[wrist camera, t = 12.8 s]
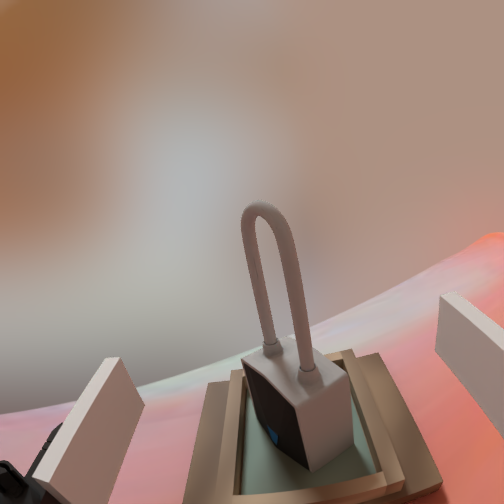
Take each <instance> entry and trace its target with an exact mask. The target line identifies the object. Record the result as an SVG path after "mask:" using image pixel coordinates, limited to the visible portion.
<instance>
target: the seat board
mask: <svg viewBox="0 0 504 504" xmlns="http://www.w3.org/2000/svg"><path fill="white" fill-rule="evenodd" d="M324 356H325V357H326V358H328V359H329V360H330V361H332V362H333V363H334V364H336V365H337V366H338V367H340V368H341V369H343V370H344V371H345V372H346V373H347V374H348V376H349V385H350V395H351V407H352V419H353V434H354V444H353V445H351V446H350V447H349V448H347V449H346V450H345V451H343V452H342V453H341V454H339V455H338V456H337V457H335V458H334V459H332V460H331V461H330V462H328V463H327V464H325V465H324V466H323V467H321V468H320V469H318V470H317V471H315V472H314V473H312V472H310V471H309V470H307V469H306V468H304V467H303V466H301V465H300V464H299V463H297V462H296V461H294V460H293V459H291V458H290V457H289V456H287V455H286V454H285V453H283V452H282V451H280V450H279V449H278V448H276V447H275V445H274V444H273V442H272V441H271V439H270V438H269V436H268V435H267V433H266V431H265V430H264V428H263V427H262V425H261V424H260V422H259V420H258V419H257V417H256V415H255V411H254V408H253V404H252V400H251V396H250V393H249V389H248V385H247V381H246V377H245V374H244V370H243V369H239V370H231V376H230V381H222V382H212V383H208V386H207V391H206V395H205V400H204V404H203V409H202V414H201V418H200V423H199V427H198V432H197V437H196V441H195V446H194V451H193V455H192V460H191V465H190V469H189V474H188V479H187V484H186V489H185V493H184V498H183V503H182V504H403V503H406V502H409V501H411V500H414V499H417V498H419V497H422V496H424V495H427V494H429V493H432V492H434V491H436V490H438V489H439V488H440V486H441V484H442V482H443V480H442V478H441V475H440V473H439V471H438V469H437V467H436V464H435V462H434V460H433V458H432V456H431V454H430V452H429V449H428V447H427V445H426V443H425V441H424V439H423V437H422V435H421V433H420V431H419V429H418V427H417V425H416V423H415V421H414V419H413V417H412V415H411V413H410V411H409V409H408V407H407V405H406V403H405V401H404V399H403V397H402V396H401V394H400V392H399V390H398V388H397V386H396V384H395V382H394V380H393V379H392V377H391V375H390V373H389V371H388V369H387V368H386V366H385V364H384V362H383V360H382V359H381V357H380V355H379V353H374V354H370V355H366V356H362V357H358V358H356V357H355V355H354V353H353V350H352V349H349V350H344V351H340V352H336V353H331V354H326V355H324Z"/></svg>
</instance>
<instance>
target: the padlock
mask: <svg viewBox="0 0 504 504" xmlns="http://www.w3.org/2000/svg"><path fill="white" fill-rule="evenodd" d="M257 216H261V217H262V218H264V219H265V220H266V221H267V223H268V224H269V225H270V227H271V228H272V230H273V233H274V235H275V238H276V241H277V245H278V249H279V253H280V257H281V262H282V266H283V271H284V276H285V281H286V286H287V292H288V297H289V302H290V308H291V313H292V319H293V325H294V331H295V336H296V340H295V339H292V338H290V337H288V336H285V337H283V338H281V339H280V340H279V339H278V338H276V335H275V330H274V325H273V320H272V315H271V311H270V305H269V300H268V296H267V291H266V286H265V281H264V276H263V271H262V266H261V261H260V256H259V251H258V245H257V239H256V233H255V220H256V218H257ZM241 232H242V238H243V244H244V249H245V254H246V259H247V264H248V269H249V273H250V278H251V282H252V287H253V291H254V296H255V301H256V305H257V310H258V314H259V319H260V323H261V327H262V332H263V336H264V341H263V348H262V349H260V350H258V351H256V352H254V353H252V354H250V355H247V356H245V357H243V358H241V362H242V366H243V370H244V374H245V377H246V381H247V385H248V389H249V393H250V396H251V400H252V404H253V408H254V411H255V415H256V417H257V419H258V420H259V422H260V424H261V425H262V427H263V428H264V430H265V431H266V433H267V435H268V436H269V438H270V439H271V441H272V442H273V444H274V445H275V447H276V448H278V449H279V450H280V451H282V452H283V453H285V454H286V455H287V456H289V457H290V458H291V459H293V460H294V461H296V462H297V463H299V464H300V465H301V466H303V467H304V468H306V469H307V470H309V471H310V472H312V473H314V472H315V471H317V470H318V469H320V468H321V467H323V466H324V465H325V464H327V463H328V462H330V461H331V460H332V459H334V458H335V457H337V456H338V455H339V454H341V453H342V452H343V451H345V450H346V449H347V448H349V447H350V446H351V445H353V444H354V434H353V419H352V407H351V395H350V385H349V376H348V374H347V373H346V372H345V371H344V370H343V369H341V368H340V367H338V366H337V365H336V364H334V363H333V362H332V361H330V360H329V359H328V358H326V357H325V356H324V355H322V354H321V353H320V352H319V351H317V350H316V349H314V348H313V347H312V343H311V336H310V329H309V322H308V317H307V309H306V303H305V297H304V291H303V285H302V279H301V273H300V268H299V263H298V258H297V253H296V248H295V244H294V240H293V237H292V233H291V230H290V228H289V225H288V223H287V221H286V219H285V218H284V216H283V215H282V214H281V212H280V211H279V210H278V209H277V208H276V207H275V206H273V205H272V204H270V203H268V202H266V201H262V200H257V201H253V202H251V203H249V204H248V205H247V206H246V208H245V209H244V211H243V214H242V218H241Z"/></svg>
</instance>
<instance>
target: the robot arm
mask: <svg viewBox="0 0 504 504" xmlns="http://www.w3.org/2000/svg"><path fill="white" fill-rule="evenodd" d="M435 351H436V353H437V354H438V355H439V356H440V357H441V359H442V360H443V361H444V362H445V363H446V365H447V366H448V367H449V368H450V369H451V371H452V372H453V373H454V374H455V376H456V377H457V378H458V379H459V381H460V382H461V383H462V384H463V386H464V387H465V388H466V389H467V391H468V392H469V393H470V394H471V396H472V397H473V398H474V400H475V401H476V402H477V403H478V405H479V406H480V407H481V409H482V410H483V411H484V413H485V414H486V415H487V417H488V418H489V419H490V421H491V422H492V423H493V425H494V426H495V428H496V429H497V430H498V432H499V433H500V434H501V436H502V437H503V439H504V329H502V328H501V327H500V326H499V325H498V324H496V323H495V322H494V321H493V320H491V319H490V318H489V317H488V316H486V315H485V314H484V313H482V312H481V311H480V310H479V309H477V308H476V307H475V306H473V305H472V304H471V303H470V302H468V301H467V300H466V299H464V298H463V297H462V296H460V295H459V294H458V293H456V292H455V291H453V292H450V293H447V294H444V295H440V302H439V316H438V327H437V336H436V345H435ZM144 406H145V404H144V403H143V401H142V399H141V397H140V395H139V393H138V392H137V390H136V388H135V386H134V384H133V382H132V380H131V378H130V376H129V374H128V372H127V370H126V368H125V366H124V364H123V362H122V360H121V358H120V357H116V358H106V359H105V360H104V361H103V363H102V364H101V366H100V367H99V369H98V370H97V372H96V373H95V375H94V376H93V378H92V379H91V381H90V382H89V384H88V385H87V387H86V388H85V390H84V391H83V393H82V394H81V396H80V398H79V399H78V401H77V402H76V404H75V405H74V407H73V408H72V410H71V412H70V413H69V415H68V416H67V418H66V420H65V421H64V423H61V424H59V425H58V426H57V427H56V428H55V429H54V430H53V431H52V432H51V434H50V435H49V437H48V439H47V442H45V444H44V445H43V447H42V450H40V452H39V454H38V455H37V457H36V459H35V460H34V462H33V464H32V465H31V467H30V469H29V471H28V472H27V474H26V476H25V477H23V476H22V475H21V474H20V473H19V472H18V471H17V470H16V469H15V468H14V467H13V465H12V464H11V463H9V462H8V461H5V460H2V461H0V504H108V501H109V498H110V495H111V493H112V490H113V487H114V484H115V482H116V479H117V476H118V473H119V471H120V468H121V465H122V463H123V460H124V457H125V455H126V452H127V449H128V447H129V444H130V442H131V439H132V436H133V434H134V431H135V429H136V426H137V424H138V421H139V419H140V416H141V413H142V411H143V408H144Z"/></svg>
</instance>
